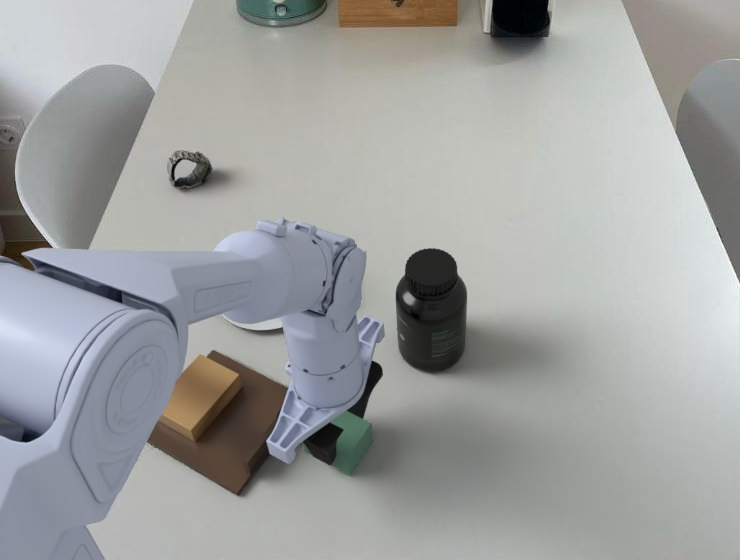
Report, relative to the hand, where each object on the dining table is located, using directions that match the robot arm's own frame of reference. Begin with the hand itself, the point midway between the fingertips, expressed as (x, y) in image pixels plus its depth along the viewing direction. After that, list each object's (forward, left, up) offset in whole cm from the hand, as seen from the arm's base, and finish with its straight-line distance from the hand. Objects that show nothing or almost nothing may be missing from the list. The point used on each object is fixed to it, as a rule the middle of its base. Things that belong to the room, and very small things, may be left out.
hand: (337, 437), depth 74 cm
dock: (-3, +11, -1) cm, 11 cm away
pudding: (+12, +17, -2) cm, 21 cm away
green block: (0, 0, -1) cm, 1 cm away
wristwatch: (+22, +37, -2) cm, 43 cm away
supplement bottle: (+14, -2, -2) cm, 14 cm away
